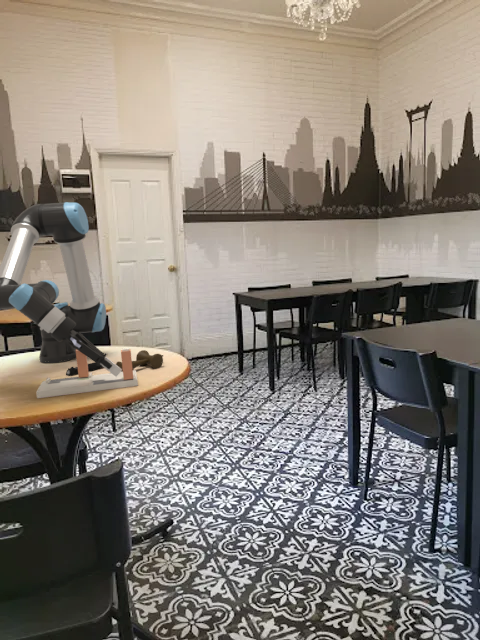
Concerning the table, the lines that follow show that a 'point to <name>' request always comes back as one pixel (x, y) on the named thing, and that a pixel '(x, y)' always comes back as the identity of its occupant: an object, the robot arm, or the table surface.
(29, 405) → the table surface
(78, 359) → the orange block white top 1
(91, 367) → the electric trimmer
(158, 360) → the kendama
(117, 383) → the white fixture board
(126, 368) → the orange rectangular block
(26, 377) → the table surface
